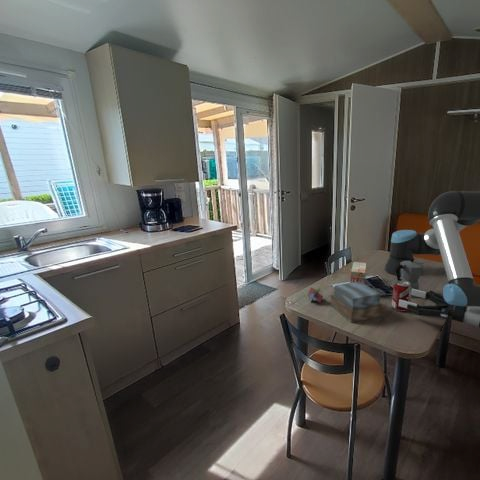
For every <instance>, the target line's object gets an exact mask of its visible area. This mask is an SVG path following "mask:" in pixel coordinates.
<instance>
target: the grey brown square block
mask: <svg viewBox="0 0 480 480" xmlns="http://www.w3.org/2000/svg"><path fill="white" fill-rule="evenodd" d="M333 289H334V292H333V294H331V295H330V303H329V304H330V306H331V308H333V309H334V310H335V311H337V312H338V313H339V314H340V315H341V316H343V317H344V319H346V320H347V321H348V322H350V323H356V322H361V321H365V320H369V319H374V318H378V317H383V310H384V305H383V304H382V303H380V302H381V293H380V292H379V291H377V290H375V289H373V288H372V287H371V286H368V285H367V284H364V283H362V282H360V281H359V282H353V283H350V282H349V283H343V284H337V285H334V288H333Z"/></svg>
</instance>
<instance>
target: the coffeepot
mask: <svg viewBox="0 0 480 480" xmlns="http://www.w3.org/2000/svg"><path fill="white" fill-rule="evenodd" d="M410 260H411V261H402V262H401V263H400V265H398V266H397V267H396V269H395V270H396V275H395V276H396V279H397V280H396V281H407V282H409V283H410V284H411V285H410V286H411V287H412V289H416V290H420V289H419V288H420V287H419V279H420V277H421V275H422V271H423V268H424V263H423V262H421V261H415V257H413V258H410ZM400 269H401V276H400V271H399V270H400ZM411 298H417V296H414V295H411Z"/></svg>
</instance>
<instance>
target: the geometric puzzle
mask: <svg viewBox="0 0 480 480" xmlns="http://www.w3.org/2000/svg"><path fill="white" fill-rule="evenodd" d="M320 290H322V289H321V288H318V289H315V288H314V287H310V289H308V293H307V295H308V299H309V300H310V303H314V302H317V303H318V304H321V302H322V299H323V296H324V294H323V293H320ZM310 298H311V299H310Z"/></svg>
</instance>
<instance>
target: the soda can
mask: <svg viewBox="0 0 480 480" xmlns="http://www.w3.org/2000/svg"><path fill="white" fill-rule="evenodd" d="M410 285H411V284H410V283H409V282H407V281H398V280H396V281H395V283H394V284H393V289H392V299H391V307H392V309H394V310H396V311H398V312H406V311H409V310H410V309H407V308H404V307H400V306H398V305H399V299H400V300H404V301H407V302H411V298H412V297H411V291H412V287H411V286H410Z"/></svg>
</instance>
